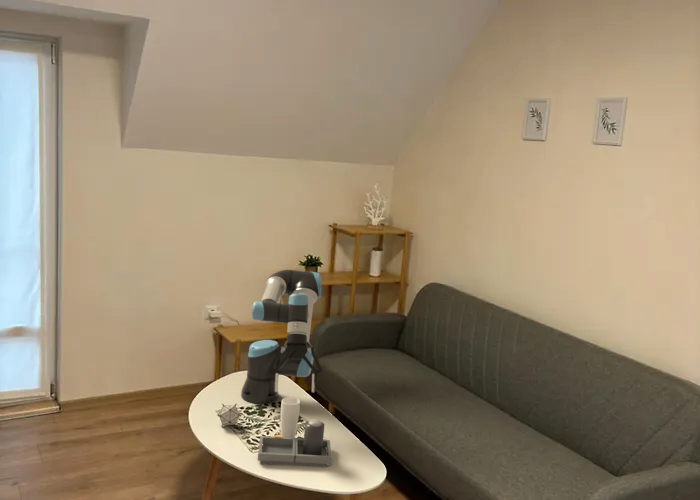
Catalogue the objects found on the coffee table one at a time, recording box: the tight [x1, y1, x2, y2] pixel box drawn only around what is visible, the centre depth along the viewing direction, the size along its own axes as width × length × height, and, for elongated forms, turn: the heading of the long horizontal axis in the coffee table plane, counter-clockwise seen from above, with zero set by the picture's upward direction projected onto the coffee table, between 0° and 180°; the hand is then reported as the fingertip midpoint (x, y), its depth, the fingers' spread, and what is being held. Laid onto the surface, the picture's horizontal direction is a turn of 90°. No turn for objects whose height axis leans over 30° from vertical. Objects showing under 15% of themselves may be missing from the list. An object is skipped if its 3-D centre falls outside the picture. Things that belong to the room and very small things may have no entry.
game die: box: [216, 403, 242, 428], centre depth 240 cm, size 9×8×10 cm
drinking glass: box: [279, 396, 301, 438], centre depth 233 cm, size 7×7×15 cm
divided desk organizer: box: [257, 418, 333, 468], centre depth 222 cm, size 13×24×13 cm, turn 95°
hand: (294, 391), depth 240 cm, fingers open, 13 cm apart
